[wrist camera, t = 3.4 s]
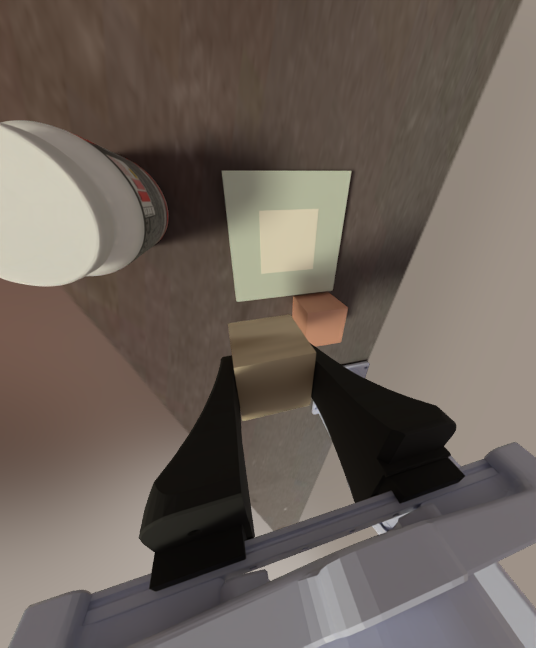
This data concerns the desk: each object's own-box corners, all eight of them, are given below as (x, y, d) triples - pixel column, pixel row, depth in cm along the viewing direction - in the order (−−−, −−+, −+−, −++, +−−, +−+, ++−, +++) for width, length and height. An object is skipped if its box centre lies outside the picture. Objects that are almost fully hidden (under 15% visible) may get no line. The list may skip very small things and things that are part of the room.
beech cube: (288, 360, 15) (310, 405, 12) (235, 370, 14) (242, 421, 11) (289, 314, 13) (316, 352, 10) (227, 323, 12) (233, 368, 9)
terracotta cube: (323, 322, 24) (340, 342, 21) (291, 327, 23) (304, 348, 20) (327, 291, 22) (348, 307, 19) (293, 295, 21) (307, 313, 18)
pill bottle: (128, 137, 13) (-25, 20, 4) (186, 226, 16) (158, 254, 8) (52, 182, 13) (-227, 150, 5) (123, 261, 16) (31, 325, 8)
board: (328, 287, 22) (332, 290, 21) (235, 298, 20) (236, 302, 19) (345, 172, 16) (351, 170, 16) (221, 171, 15) (222, 170, 14)
